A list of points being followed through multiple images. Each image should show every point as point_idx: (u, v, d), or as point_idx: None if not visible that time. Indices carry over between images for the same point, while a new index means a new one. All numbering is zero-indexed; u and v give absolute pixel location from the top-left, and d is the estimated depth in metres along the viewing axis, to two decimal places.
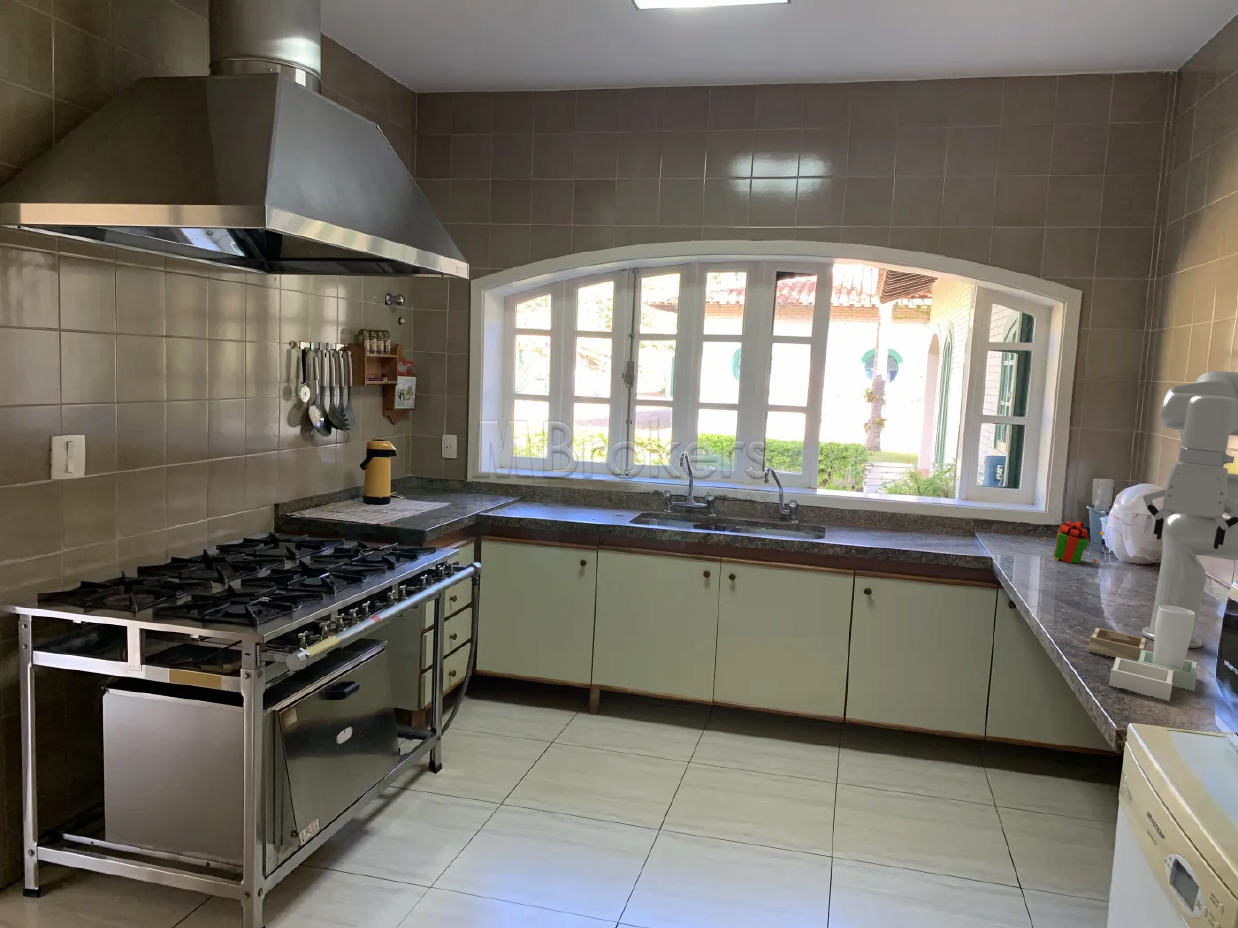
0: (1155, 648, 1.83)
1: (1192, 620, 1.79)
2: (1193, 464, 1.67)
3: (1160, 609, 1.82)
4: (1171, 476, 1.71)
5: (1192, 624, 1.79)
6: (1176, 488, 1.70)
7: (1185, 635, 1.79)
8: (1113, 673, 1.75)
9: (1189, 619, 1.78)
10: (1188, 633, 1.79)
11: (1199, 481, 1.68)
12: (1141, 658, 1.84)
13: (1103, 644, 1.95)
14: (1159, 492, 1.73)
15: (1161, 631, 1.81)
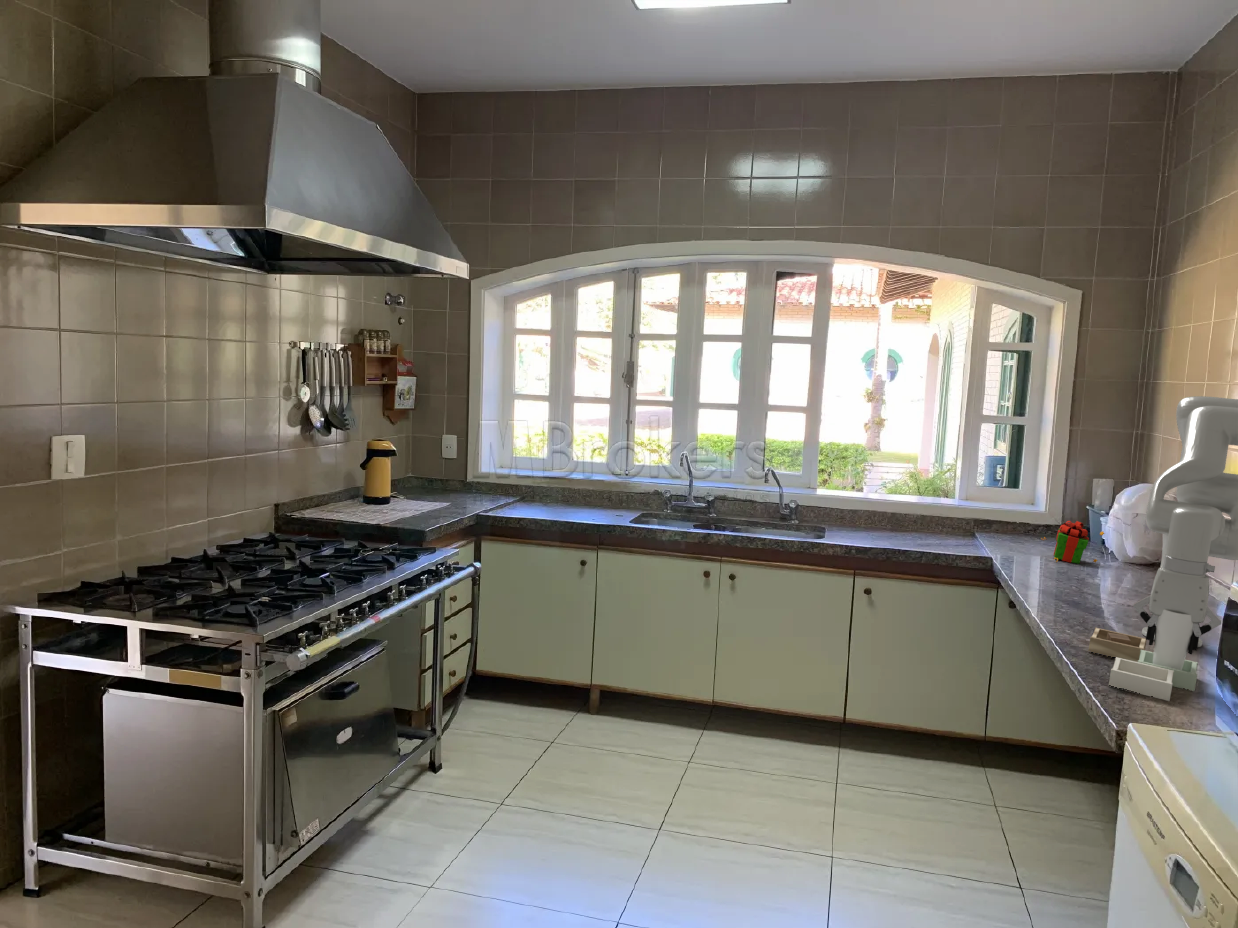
0: (1155, 648, 1.83)
1: None
2: (1176, 573, 1.78)
3: None
4: (1156, 582, 1.81)
5: None
6: (1161, 593, 1.81)
7: (1185, 635, 1.79)
8: (1113, 673, 1.75)
9: (1190, 620, 1.78)
10: (1189, 633, 1.79)
11: (1182, 588, 1.78)
12: (1141, 658, 1.84)
13: (1103, 644, 1.95)
14: (1146, 599, 1.84)
15: (1162, 631, 1.81)
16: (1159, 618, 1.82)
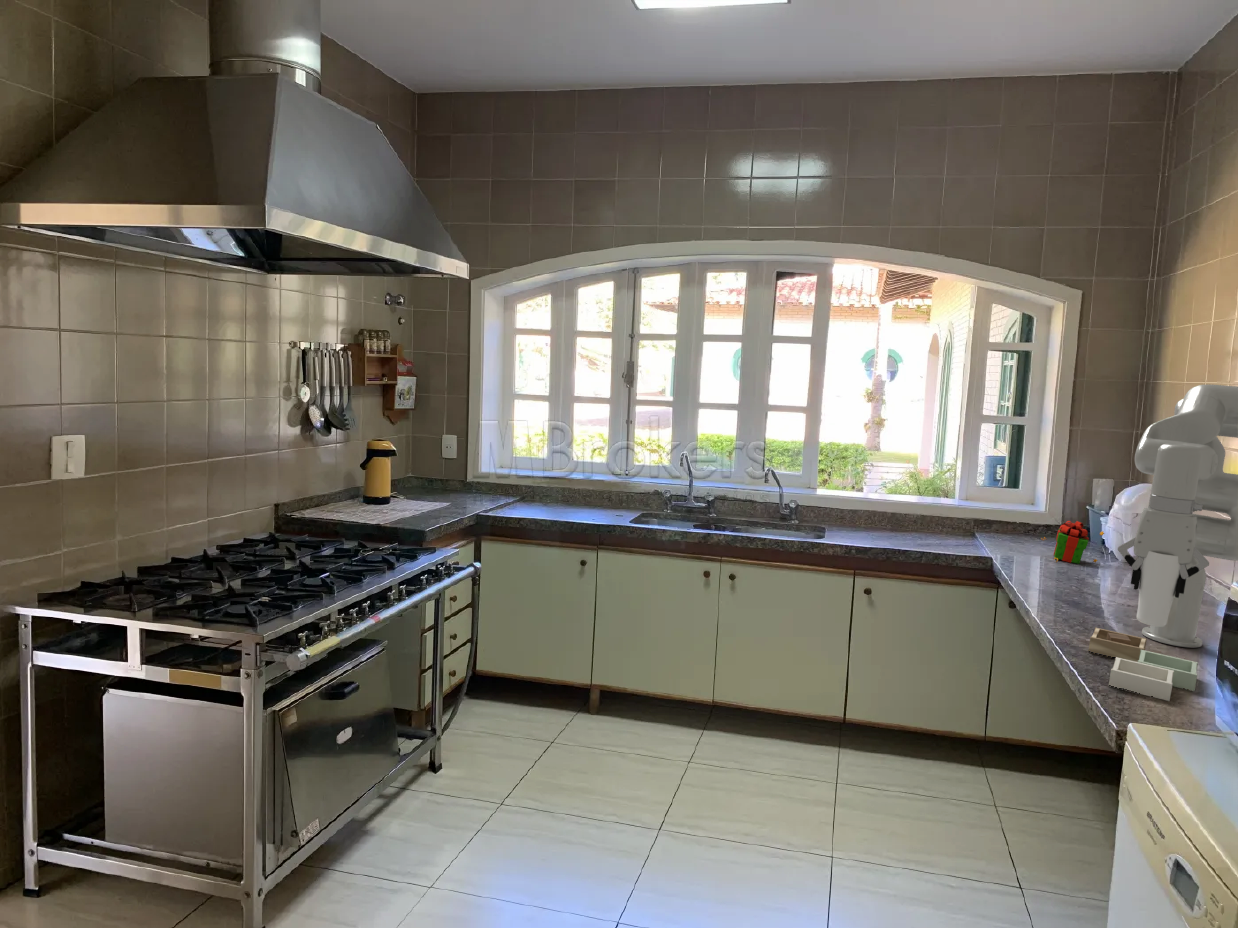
0: (1141, 592, 1.74)
1: None
2: (1162, 512, 1.69)
3: None
4: (1141, 522, 1.73)
5: (1179, 566, 1.70)
6: (1146, 534, 1.72)
7: (1172, 577, 1.70)
8: (1113, 673, 1.75)
9: (1176, 561, 1.69)
10: (1175, 575, 1.70)
11: (1168, 528, 1.70)
12: (1141, 658, 1.84)
13: (1103, 644, 1.95)
14: (1131, 541, 1.75)
15: (1147, 574, 1.72)
16: (1144, 560, 1.73)
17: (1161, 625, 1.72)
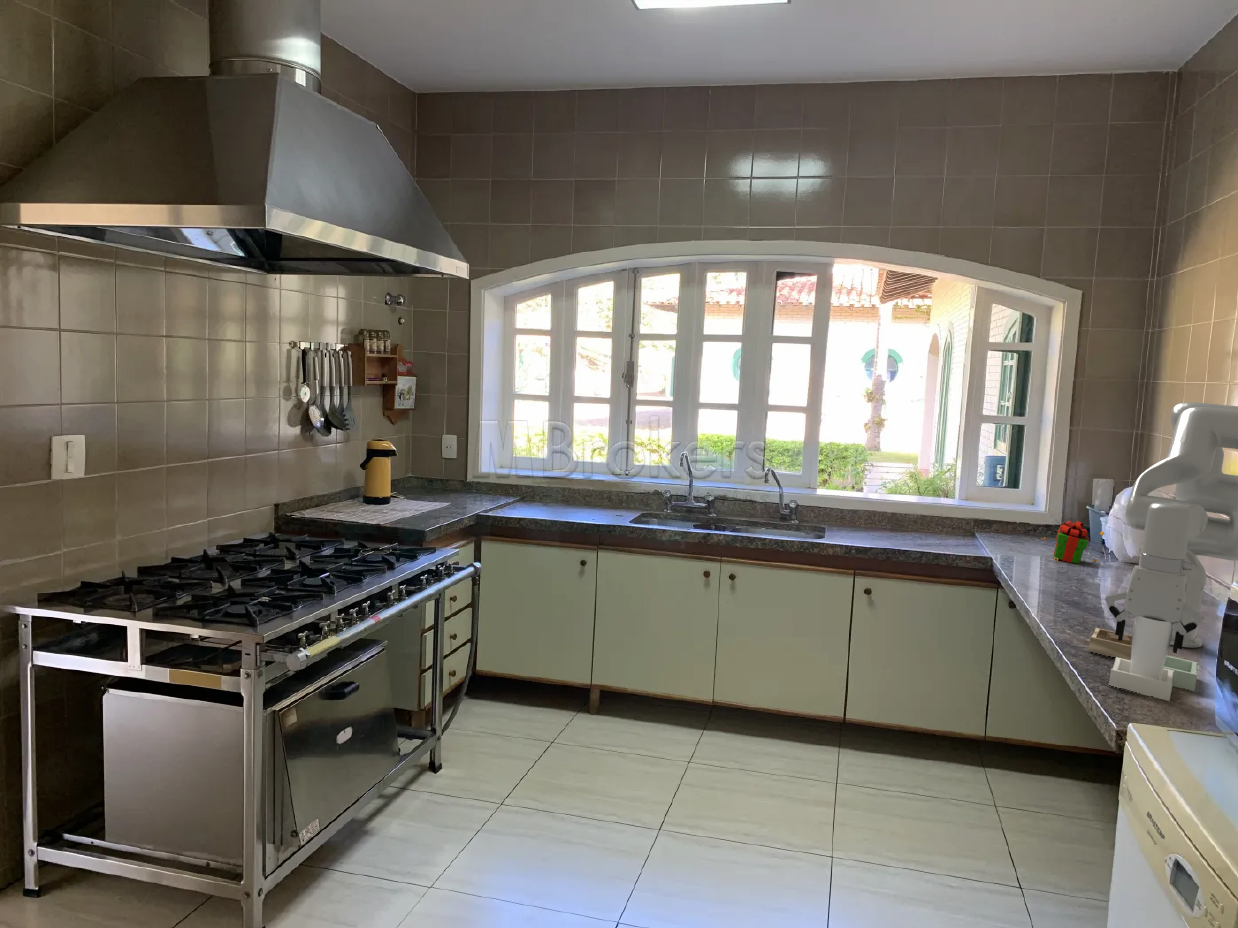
0: (1132, 656, 1.76)
1: (1170, 627, 1.72)
2: (1152, 570, 1.71)
3: (1137, 616, 1.75)
4: (1131, 580, 1.75)
5: (1170, 631, 1.72)
6: (1136, 592, 1.74)
7: (1163, 643, 1.72)
8: (1113, 673, 1.75)
9: (1167, 627, 1.71)
10: (1166, 641, 1.72)
11: (1158, 587, 1.71)
12: None
13: (1103, 644, 1.95)
14: (1120, 594, 1.77)
15: (1138, 639, 1.74)
16: (1136, 625, 1.75)
17: None
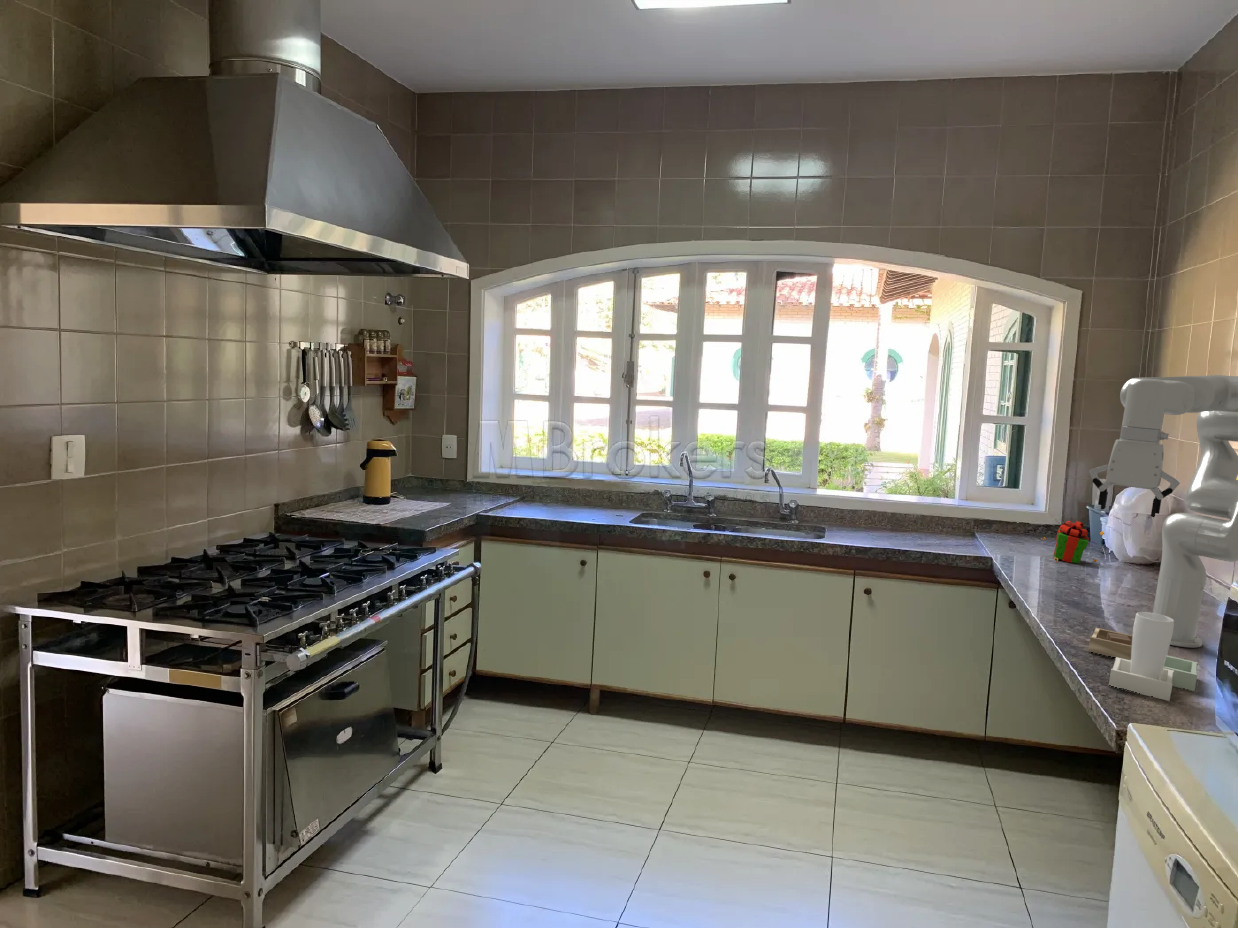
0: (1132, 656, 1.76)
1: (1170, 627, 1.72)
2: (1132, 440, 1.85)
3: (1137, 616, 1.75)
4: (1113, 452, 1.89)
5: (1170, 631, 1.72)
6: (1117, 462, 1.88)
7: (1163, 643, 1.72)
8: (1113, 673, 1.75)
9: (1167, 627, 1.71)
10: (1166, 641, 1.72)
11: (1137, 456, 1.86)
12: None
13: (1103, 644, 1.95)
14: (1103, 466, 1.91)
15: (1138, 639, 1.74)
16: (1136, 625, 1.75)
17: None
